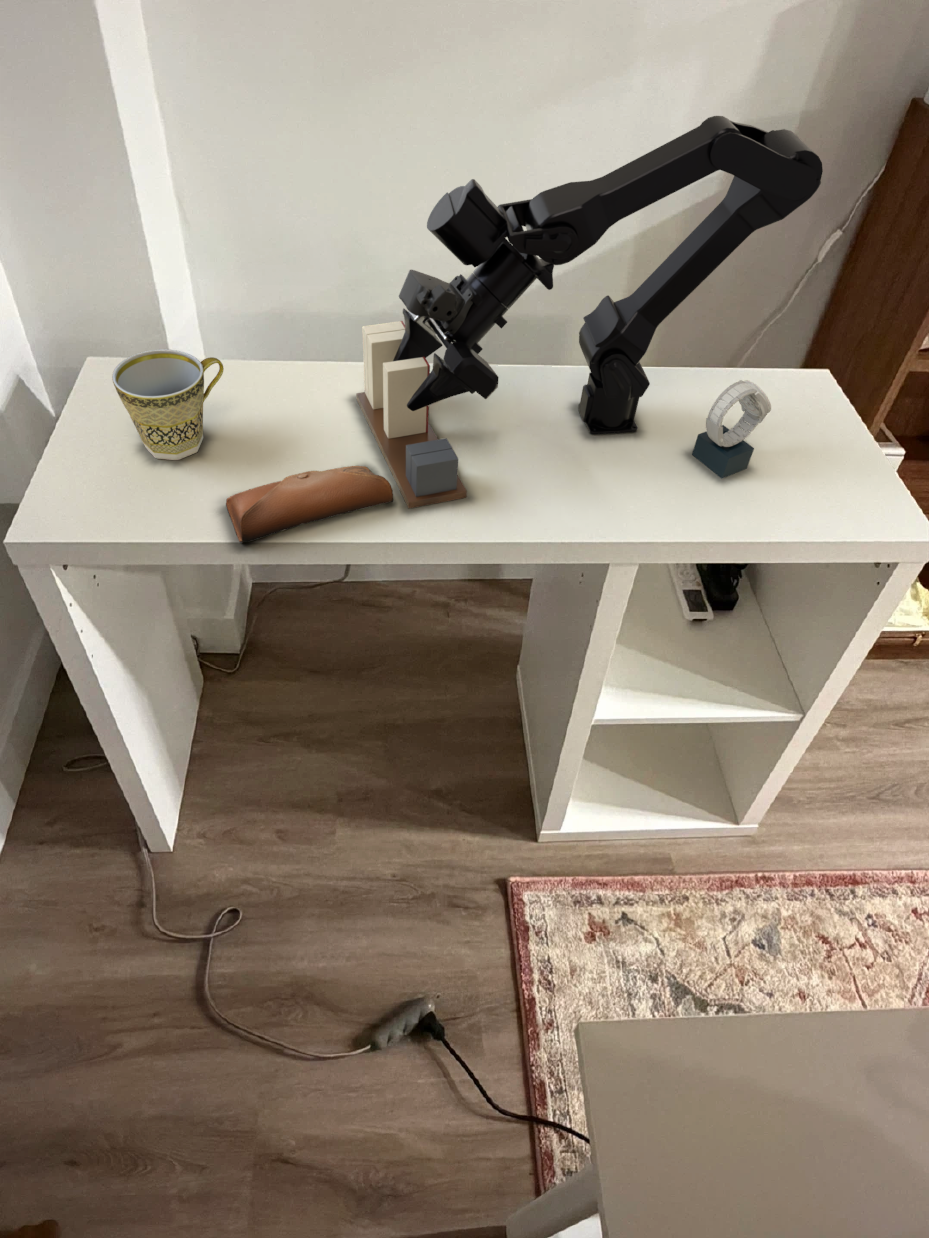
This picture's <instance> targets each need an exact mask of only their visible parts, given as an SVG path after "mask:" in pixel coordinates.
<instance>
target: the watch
mask: <svg viewBox="0 0 929 1238" xmlns="http://www.w3.org/2000/svg"><path fill="white" fill-rule="evenodd" d="M737 403H739V404H740V407H741V411H742V412H743V414H742V416H741V417H740V418H739V419H738V421H737V422H736V423H735V424H734V426H732V427H731V428H728V427H727V426H726V425H724V424H723V420H724V417H725V416H726V415H727V414H728V411H729V410H731V408H732V407H734V405H736V404H737ZM708 411H709V412H708V414H707V417H706V418H705V431H703V432H701V433H698V434H697V437H696V440H695V443H694V446H693V450H692V453H691V455H692V456H693V457H694V458H696V460H698V461H699V462H700V463H702V464H703V465H704V466H706V468H708V469H709V470H710V471H711V472H713V473H714V474H715V475H717V477H719V478H720V479H725V478H728V477H731V476H733V475H734V474H737V473H739V472H741V471H745V470H746V469H748V466H749V463H750V460H751V458H752V456H753V453H754V450H755V447H753V446H752V445H750V444H749V443H748V442H747V441H745V439H746V438H747V437H749V436H750V435H751V434H752V432H753V431H754V430H755V429H756V428H757V426H758V425H759V424H761V423H763V421H764V419H765V418H766V416H767V415H768V414H769V413H770V412H771V411H772V404H771V401H770V399H769V398H768V396H767V395H766V393H765V392H764V390H763V389H761V387H760V386H758V385H757V384H756V383H754V382H753V381H750V380H748V379H747V380H742V379H739V380H738V381H737V382H734V383H731V384H730V385H729V386H727V387H726V388H725V389H724V390H723V391H721V393H720V394H719V395H718V397H717V398H716V399H715V401H714V402H713V404H712V406H711V407H710V409H709V410H708Z"/></svg>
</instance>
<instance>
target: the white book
mask: <svg viewBox="0 0 929 1238" xmlns="http://www.w3.org/2000/svg"><path fill="white" fill-rule="evenodd" d="M430 373H431V365H430V363H429V362H428V360H427V357H426V358H425V357H421V358H414V359H407V360H400V361H393V362H386V363H383V408H384V431H385V433H386V435H387V437H388V439H390V438H396V437H402V436H408V435H414V434H419V433H425V432H426V433H427V432H428V422H429V411H430V409H429V408H430V405H428V406H425V407H423V408H420V409H418V410H415V411H411V410H410V409H409V408H408V407H407V403H408V402H409V400H410V399H411V397H412V396H413V394H414V393H415V392H416V391H417V389H418V388H419V387H420V385H421V384H422V383H423V382H424V380H425V379H426V378H427V376H428V375H429V374H430Z"/></svg>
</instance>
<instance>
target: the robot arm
mask: <svg viewBox="0 0 929 1238" xmlns="http://www.w3.org/2000/svg"><path fill="white" fill-rule="evenodd" d="M718 171H722V172H724V173H727V174H730V175H732V176H733V178H732V181H731V183H730V185H729V188H728V189H727V192H726V194H725V195H724V198H723V199H722V200H721V201H720V202H719V204H717V205H716V206H715V207H714V209H713V210H712V211H711V212H710V213H709V214H708V215H707V216H706V217H705V218H704V219H703V220H702V221H701V222H700V223H699V224H698V225H697V226H696V227H695V228H694V229H693V230H692V231H691V233H689V235H688V236H687V237H686V238H685V239H684V240H683V241H682V242H681V243H680V244H679V245H678V246H677V247H676V248H675V249H674V250H673V251H672V252H671V253H670V254H669V256H667V257H666V258H665V259H664V260H663V262H661V264H659V266H658V267H657V268H656V269H655V270H654V271H653V272H652V273H651V274H650V275H649V276H648V277H647V278H646V279H645V280H644V281H643V282H642V283H641V284H640V286H639V285H638V287H637V288H636V290H635V291H633V292H632V293H631V294H630V295H628V296H627V297H624V298H622V299H619V300H615V301H614V300H613V299H612V297H611V296H610V295H606V296H604V297H603V298H602V299H601V301H600V302H599V303H598V305H597V306H596V308H595V309H594V310H592V311H591V312H590V313H589V314H587V315H585V316H583V321H584V323H583V325H582V326H581V327H580V329H579V332H578V345H579V346H580V349H581V352H582V354H583V357H584V359H585V361H586V364H587V366H588V369H589V374H588V378H587V383H586V384H584V385H583V386H582V390H581V396H580V401H579V403H578V406H577V409H578V413H579V415H580V417H581V420H582V422H583V423H584V424H585V427H586V428H587V431H588V433H589V434H590V435H592V436H593V435H594V436H596V435H611V434H626V433H628V434H629V433H637V432H638V425H637V423H636V421H635V418H636V414H637V410H638V406H639V402H640V398H642V397H643V396H644V394H645V393H646V391H647V390H648V388H649V387H650V381H649V378H648V376H647V374H646V372H645V369H644V368H643V366H642V364H641V360H642V359H643V357H644V356H646V354H647V352H648V349H649V347H650V345H651V343H652V339H653V337H654V335H655V333H656V330H657V328H658V327H659V326H660V325H661V324H662V323H663V322H664V320H666V319H667V317H669V316H670V315H671V313H673V312H674V311H675V310H676V309H677V308H678V307H679V306H680V305H681V304H682V303H683V302H684V301H685V300H686V299H687V298H688V297H689V296H690V295H692V293H693V292H694V291H695V290H696V289H697V288H698V287H699V286H700V285H701V284H702V283H703V282H704V281H705V280H706V279H707V278H708V277H709V276H710V275H711V274H712V273H713V272H715V270H716V269H717V268H718V267H719V266H720V265H721V264H722V263H723V262H724V261H725V260H726V259H727V258H728V257H729V256H730V255H731V254H733V252H734V251H735V250H736V249H738V247H739V246H741V244H742V243H744V242H745V241H746V240H747V239H748V237H750V236H751V235H752V234H753V233H754V232H755V231H758V230H760V229H762V228H764V227H767V226H770V225H772V224H775V223H778V222H780V221H782V220H784V219H785V218H787V217H788V216H790V215H791V214H792V213H794V212H795V211H796V210H797V209H799V208H800V207H801V206H803V205H804V204H805V203H807V202H808V201H809V200H811V198H812V197H813V196H814V195H815V193H816V192H817V191H818V190H819V188H820V186H821V184H822V177H823V171H824V170H823V162H822V160H821V159H820V156H819V155H818V154H817V153H816V152H815V151H814V150H813V149H812V148H811V147H810V146H809V145H808V144H807V143H805V141H803V140H802V139H801V138H800V137H799V136H798V135H797V134H796V133H795V132H793V131H792V130H789V129H785V128H781V129H777V130H775V129H772V130H770V131H767V130H764V129H761V128H759V127H757V126H754V125H751V124H747V123H741V122H735V121H733V120H730V119H729V118H728V117H726V116H724V115H712V116H709V117H707V118H706V119H705V120H703V121H702V122H701V123H700V125H699V126H696V127H694V128H693V129H691V130H689V131H686V132H685V133H683V134H682V135H679V136H678V137H675V138H673V139H671V140H670V141H668V142H666V143H664V144H662V145H660V146H658V147H656V148H654V149H653V150H651V151H649V152H647V153H645V154H643V155H641V156H639V157H637V158H635V159H633V160H631V161H630V162H627V163H625V164H624V165H621V166H620V167H618V168H616V169H615V170H613V171H610V172H609V173H606V174H605V175H603V176H601V177H598V178H594V179H592V180H582V181H580V180H579V181H570V182H567V183H564V184H561V185H558V186H555V187H552V188H548V189H545V190H543V191H541V192H539V193H538V194H536V195H535V196H534V197H533V198H531V199H524V200H519V201H512V202H507V203H506V202H505V203H500V204H498V205H496V204H495V203H494V202H493V200H492V199H491V198H490V197H489V196H488V195H487V194H486V193H485V191H484V189H483V187H482V185H480V184H479V182H478V181H477V180H476V179H475V178H472V179H470V180H469V181H468V182H467V183H466V185H460V186H457V187H456V188H454V189H452V190H451V191H450V192H445V194H443V195H442V197H441V198H440V199H439V200H438V201H437V203H436V204H435V206H433V208H432V210H431V212H430V214H429V216H428V218H427V221H426V229H427V230H428V231H429V232H430V233H431V234H432V235H433V236H434V237H435V238H436V239H437V240H438V241H439V242H440V243H441V244H442V245H443V246H444V247H445V248H446V249H447V250H449V252H450V253H451V254H452V255H453V256H454V257H455V258H457V260H458V261H460V262H461V264H462V265H464V266H472V267H473V268H475V269H474V270H473V271H472V272H471V273H470V274H469V276H468V277H467V278H466V277H465V276H463V274H461V273H460V274H459V275H456V276H455V277H454V278H453V279H452V280H451V281H450V282H447V281H445V280H442V279H440V278H438V277H436V276H433V275H431V274H427V273H424V272H421V271H418V270H415V269H409V270H408V273H407V275H406V277H405V279H404V282H403V285H402V287H401V288H400V292H399V294H398V299H400V300H401V302H402V303H403V305H404V306H405V307H406V308H404V307H403V308H402V315H403V319H404V324H405V333H404V336H403V338H402V341H401V344H400V346H399V348H398V350H397V353H396V355H395V357H394V360H393V361H400V360H407V359H414V358H421V357H425V358H426V359H427V358H428V357H429V356H431V355H432V354H433V360H432V361H433V362H432V370H430V374H429V375H428V376H427V378H426V379H425V380H424V382H423V383H422V384H421V385H420V387H419V388H418V389H417V391H416V392H415V393H414V394H413V396H412V397H411V399H410V400H409V402H408V403H407V407H408V408H409V409H410V410H411V411H415V410H418V409H420V408H423V407H425V406H428V405H429V406H431V405H433V404H436V403H438V402H441V401H444V400H446V399H449V398H452V397H456V396H459V395H462V394H465V393H470V394H471V395H473V394H475V393H477V394H478V395H479V396H480V397H481V398H483V399H484V400H487V399H488V398H489V397H490V396H491V395H492V394H493V393H494V392H495V391H496V390H497V389H498V388H499V378H500V377H499V376H498V374H497V372H496V371H494V369H493V367H491V366H490V364H489V362H487V360H486V359H484V358H483V357H482V356H481V355H479V354H480V353H481V352H482V351H483V347H482V346H481V344H479V342H481V340H483V338H484V337H486V335H487V334H488V333H489V332H490V331H491V330H492V329H493V327H494V326H495V325H497V326H498V327H499V328H500V329H503V328H504V327H505V325H506V324H507V323H508V321H507V320H506V318H505V317H504V315H505V314H506V313H507V312H508V311H509V310H510V308H512V306H513V305H514V304H515V303H516V302H517V301H518V300H519V298H521V296H522V295H523V294H524V293H525V292H526V291H527V290H528V289H529V288H530V287H531V286H532V284H533V283H534V282H535V281H536V280H538V281H539V282H540V283H541V284H542V286H544V288H545V289H547V290H548V291H550V290H553V289H554V278H553V276H554V274H553V273H554V269H555V266H562V265H566V264H568V263H570V262H572V261H573V260H575V259H576V258H578V257H579V256H580V255H582V254H583V253H585V252H586V251H588V250H589V249H591V248H592V247H594V246H595V245H597V243H598V242H599V240H601V238H602V237H603V236H604V234H605V233H606V232H607V231H608V230H609V228H611V227H612V226H614V225H615V224H616V223H618V222H619V221H621V220H623V219H626V218H627V217H629V216H631V215H633V214H635V213H637V212H638V211H639V212H640V211H641V210H643V209H644V208H646V207H649V206H650V205H652V204H655V203H656V202H658V201H661V200H663V199H664V198H667V197H668V196H670V195H672V194H674V193H676V192H679V191H680V190H682V189H684V188H687V187H688V186H690V185H692V184H695V183H696V182H698V181H700V180H702V179H704V178H706V177H708V176H709V175H711V174H714V173H716V172H718ZM524 227H525V229H526V230H524ZM443 346H444V347H445V348H446V349H445V351H444V355H443V358H442V357H441V356H439V355H438V354H437V353H436V352H437V351H438V350H439V349H440V348H442V347H443Z"/></svg>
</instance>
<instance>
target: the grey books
mask: <svg viewBox="0 0 929 1238" xmlns="http://www.w3.org/2000/svg"><path fill="white" fill-rule="evenodd" d="M458 473H459V457H458V455H457V454H456V452H455V450H454V448H453V447H452V445H451V443H450V441H449V440H448V438H447V437H446V438H445V437H444V438H438V440H433V441H427V442H421V443H415V444H410V445H406V477H407V479H408V481H409V483H410V485H411V487H412V489H413V492H414V494H415V496H416V497H419V496H425V495H430V494H435V493H440V492H446V491H451V490H456V488H457V474H458Z"/></svg>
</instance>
